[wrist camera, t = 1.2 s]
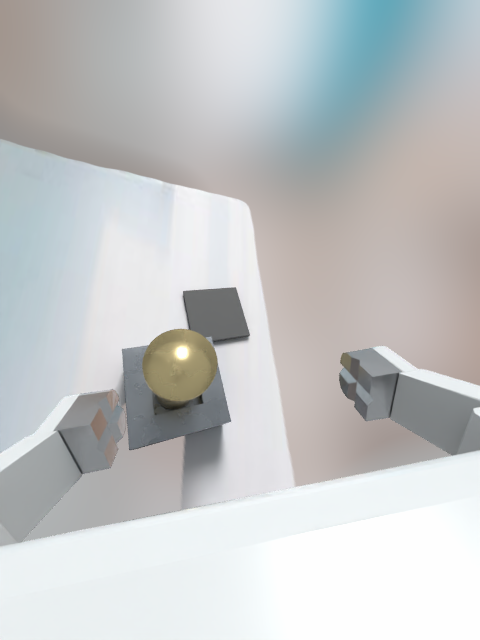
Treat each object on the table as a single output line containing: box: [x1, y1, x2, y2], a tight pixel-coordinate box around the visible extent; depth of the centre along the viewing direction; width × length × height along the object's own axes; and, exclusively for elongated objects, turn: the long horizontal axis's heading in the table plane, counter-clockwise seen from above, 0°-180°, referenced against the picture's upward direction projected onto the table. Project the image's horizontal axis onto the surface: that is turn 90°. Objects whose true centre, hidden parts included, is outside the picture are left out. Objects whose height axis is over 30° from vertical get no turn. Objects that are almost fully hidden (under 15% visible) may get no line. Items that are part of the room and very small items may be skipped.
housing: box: [122, 337, 231, 450], centre depth 33 cm, size 12×12×5 cm
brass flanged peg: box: [142, 329, 218, 409], centre depth 28 cm, size 7×7×13 cm
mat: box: [183, 287, 250, 341], centre depth 43 cm, size 10×10×1 cm
